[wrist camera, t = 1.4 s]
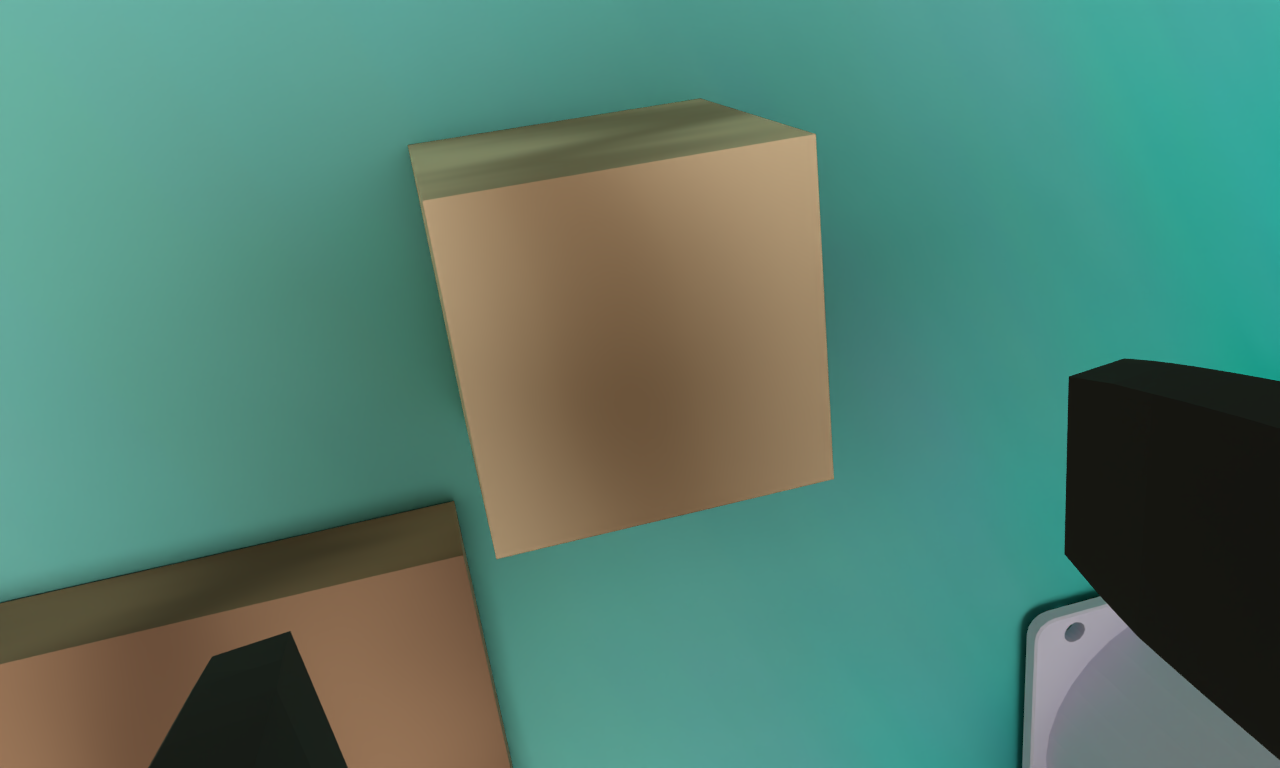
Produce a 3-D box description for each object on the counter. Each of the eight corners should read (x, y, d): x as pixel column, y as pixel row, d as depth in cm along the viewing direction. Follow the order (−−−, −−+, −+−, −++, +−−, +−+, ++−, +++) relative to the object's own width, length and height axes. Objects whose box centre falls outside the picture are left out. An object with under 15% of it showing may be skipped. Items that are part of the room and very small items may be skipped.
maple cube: (698, 97, 17) (816, 134, 13) (724, 365, 19) (833, 478, 15) (407, 144, 16) (422, 201, 12) (464, 420, 18) (496, 559, 14)
